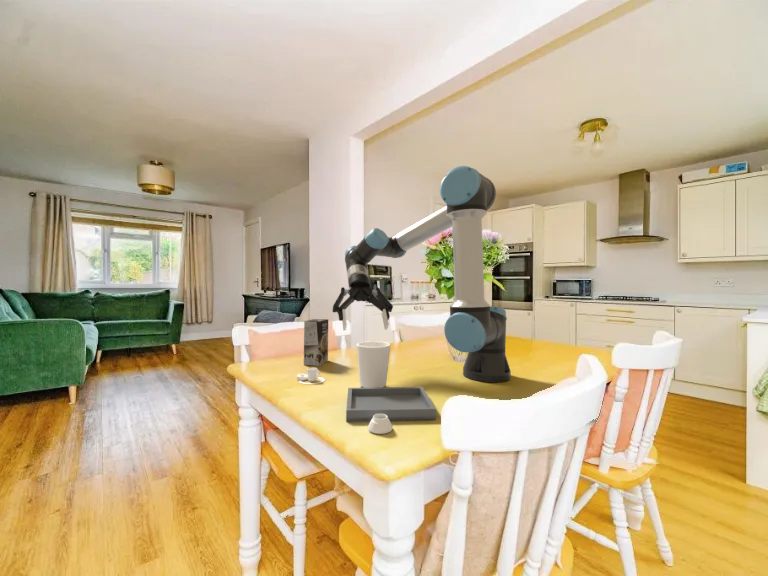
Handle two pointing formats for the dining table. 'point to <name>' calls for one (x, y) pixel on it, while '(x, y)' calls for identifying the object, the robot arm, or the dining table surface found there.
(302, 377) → the teacup and saucer
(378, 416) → the lidless jar
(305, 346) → the coffee box
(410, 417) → the tray
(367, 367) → the cup
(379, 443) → the dining table surface
